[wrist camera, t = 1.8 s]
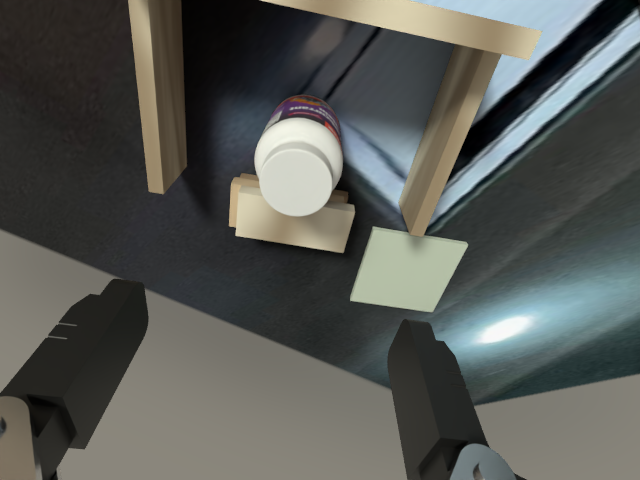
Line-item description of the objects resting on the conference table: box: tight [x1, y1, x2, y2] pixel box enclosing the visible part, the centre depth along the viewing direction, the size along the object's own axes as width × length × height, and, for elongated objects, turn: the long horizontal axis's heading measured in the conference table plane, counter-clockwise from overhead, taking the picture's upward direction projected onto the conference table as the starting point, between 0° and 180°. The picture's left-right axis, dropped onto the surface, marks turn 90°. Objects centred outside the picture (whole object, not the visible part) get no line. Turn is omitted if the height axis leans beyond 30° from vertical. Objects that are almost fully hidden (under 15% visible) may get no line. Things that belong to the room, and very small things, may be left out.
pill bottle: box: [255, 95, 343, 216], centre depth 23 cm, size 5×5×10 cm
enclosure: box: [128, 0, 542, 237], centre depth 22 cm, size 20×14×8 cm
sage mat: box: [350, 227, 468, 312], centre depth 34 cm, size 9×9×1 cm
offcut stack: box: [229, 173, 355, 253], centre depth 29 cm, size 10×4×4 cm, turn 79°
